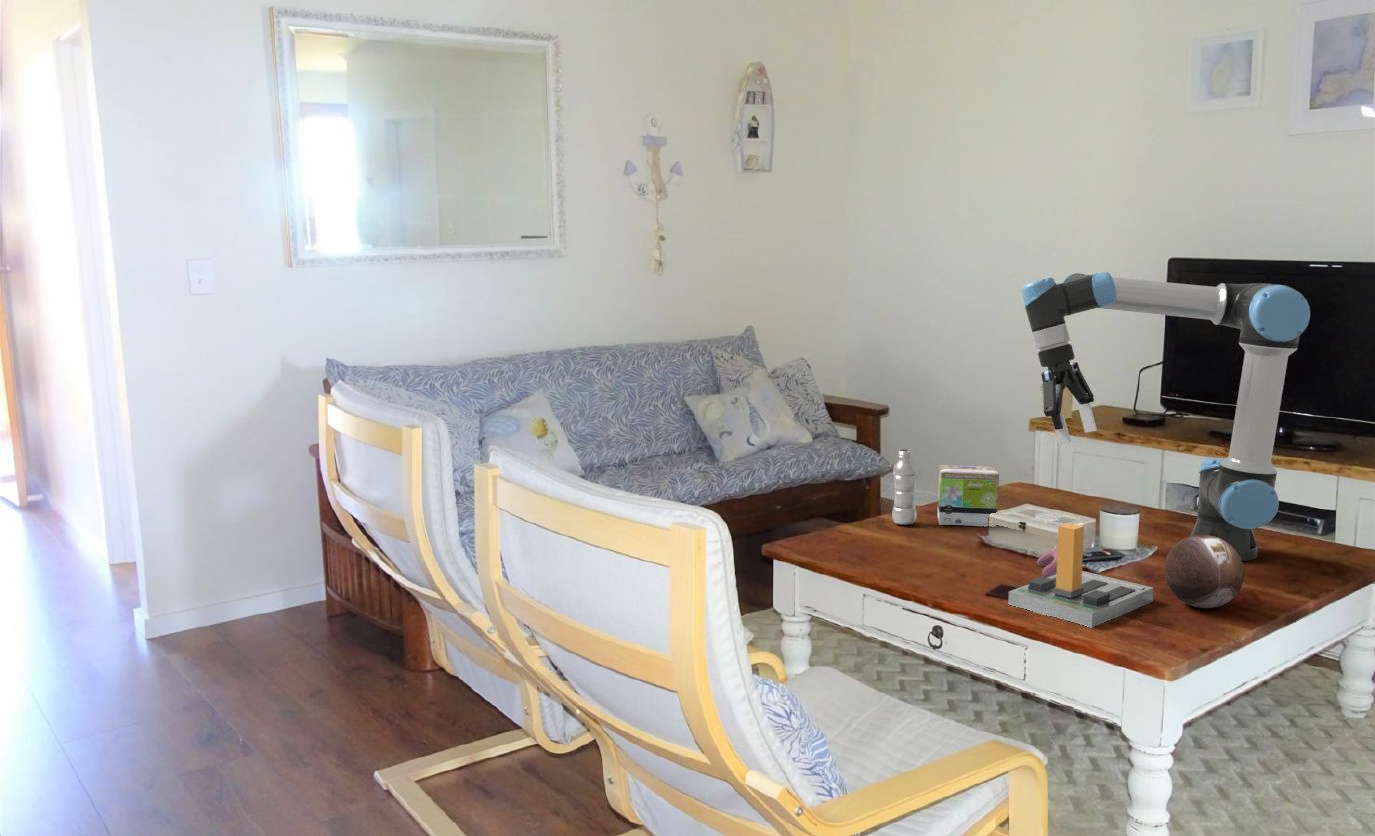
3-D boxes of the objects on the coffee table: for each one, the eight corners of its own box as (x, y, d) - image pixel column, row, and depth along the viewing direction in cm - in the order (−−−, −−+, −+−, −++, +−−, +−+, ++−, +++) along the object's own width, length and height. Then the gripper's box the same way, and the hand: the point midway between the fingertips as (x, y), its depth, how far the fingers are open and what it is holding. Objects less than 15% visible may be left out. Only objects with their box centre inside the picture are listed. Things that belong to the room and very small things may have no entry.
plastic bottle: (889, 526, 303) (890, 452, 300) (894, 520, 309) (895, 447, 306) (913, 528, 301) (915, 453, 297) (918, 521, 307) (920, 448, 304)
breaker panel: (1071, 581, 254) (1072, 561, 253) (1152, 601, 239) (1154, 580, 239) (1008, 605, 238) (1009, 584, 238) (1091, 628, 224) (1092, 605, 223)
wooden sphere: (1204, 622, 226) (1208, 549, 224) (1146, 600, 240) (1150, 531, 238) (1258, 611, 232) (1263, 540, 230) (1199, 591, 246) (1203, 523, 243)
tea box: (939, 526, 302) (940, 471, 300) (937, 516, 312) (938, 463, 310) (997, 527, 300) (999, 472, 298) (993, 518, 310) (995, 464, 307)
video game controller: (1059, 585, 256) (1074, 558, 255) (1040, 575, 257) (1056, 549, 255) (1052, 572, 266) (1067, 546, 264) (1034, 563, 266) (1049, 537, 265)
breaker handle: (1066, 588, 238) (1068, 522, 236) (1083, 592, 235) (1086, 526, 233) (1053, 593, 235) (1055, 526, 233) (1070, 598, 232) (1073, 530, 230)
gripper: (1063, 343, 270) (1086, 429, 270) (1012, 358, 253) (1037, 450, 253) (1093, 335, 265) (1116, 424, 265) (1043, 350, 247) (1068, 445, 247)
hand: (1078, 437), depth 259 cm, fingers open, 13 cm apart
